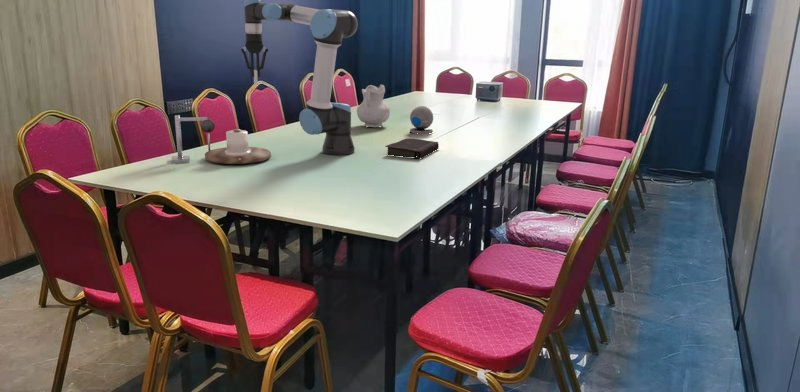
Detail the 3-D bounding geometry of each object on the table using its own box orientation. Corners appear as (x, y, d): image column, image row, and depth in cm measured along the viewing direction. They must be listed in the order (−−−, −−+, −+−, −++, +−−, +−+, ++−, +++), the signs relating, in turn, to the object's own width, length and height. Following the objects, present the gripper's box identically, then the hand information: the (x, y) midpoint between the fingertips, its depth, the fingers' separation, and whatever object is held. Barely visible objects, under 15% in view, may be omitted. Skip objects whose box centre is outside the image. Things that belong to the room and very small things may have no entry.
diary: (438, 151, 293) (439, 141, 291) (420, 161, 270) (421, 150, 269) (403, 147, 299) (404, 137, 298) (383, 156, 277) (383, 145, 276)
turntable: (267, 148, 280) (267, 145, 279) (274, 162, 254) (273, 158, 254) (205, 151, 271) (204, 147, 271) (205, 165, 246) (204, 161, 245)
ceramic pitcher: (387, 132, 341) (391, 88, 334) (353, 128, 341) (357, 84, 334) (388, 126, 362) (392, 84, 355) (356, 122, 362) (360, 81, 355)
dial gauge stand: (216, 157, 264) (213, 113, 258) (216, 161, 257) (214, 116, 252) (172, 159, 258) (168, 114, 253) (171, 163, 252) (167, 117, 246)
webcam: (436, 132, 339) (437, 106, 334) (425, 135, 328) (426, 108, 324) (417, 129, 345) (417, 103, 341) (405, 132, 335) (406, 106, 331)
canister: (250, 151, 267) (249, 127, 264) (251, 156, 257) (250, 131, 254) (225, 151, 264) (223, 127, 261) (224, 157, 254) (223, 132, 251)
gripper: (267, 33, 285) (269, 83, 292) (239, 32, 281) (241, 83, 288) (268, 33, 278) (270, 84, 285) (239, 33, 274) (242, 84, 281)
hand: (255, 83), depth 286 cm, fingers closed
